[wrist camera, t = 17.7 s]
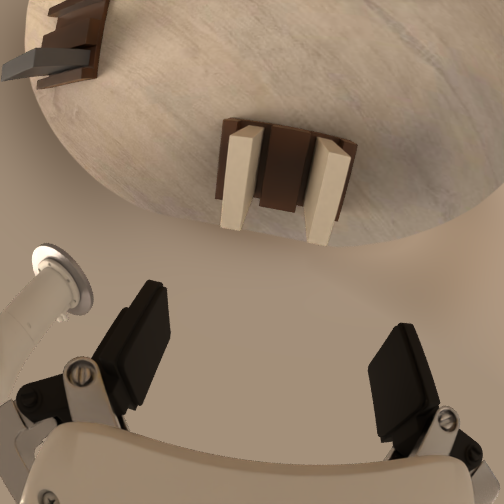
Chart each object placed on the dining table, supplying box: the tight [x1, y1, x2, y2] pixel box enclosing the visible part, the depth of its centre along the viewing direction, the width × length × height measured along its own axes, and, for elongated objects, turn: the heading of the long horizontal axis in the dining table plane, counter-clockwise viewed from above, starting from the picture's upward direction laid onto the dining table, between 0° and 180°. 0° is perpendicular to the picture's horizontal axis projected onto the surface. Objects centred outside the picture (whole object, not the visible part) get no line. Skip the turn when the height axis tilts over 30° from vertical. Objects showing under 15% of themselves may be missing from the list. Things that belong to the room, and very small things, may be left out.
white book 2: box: [303, 137, 351, 246], centre depth 25 cm, size 2×8×10 cm, turn 172°
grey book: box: [1, 48, 91, 81], centre depth 20 cm, size 2×8×10 cm, turn 82°
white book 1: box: [220, 125, 265, 231], centre depth 25 cm, size 8×2×10 cm, turn 172°
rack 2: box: [215, 118, 358, 222], centre depth 29 cm, size 9×14×4 cm, turn 82°
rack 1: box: [37, 0, 110, 90], centre depth 21 cm, size 14×10×4 cm
